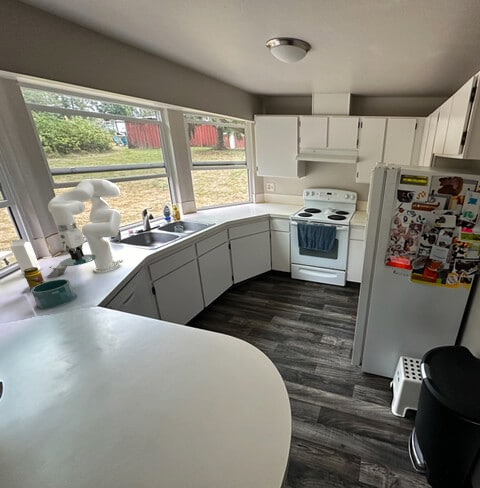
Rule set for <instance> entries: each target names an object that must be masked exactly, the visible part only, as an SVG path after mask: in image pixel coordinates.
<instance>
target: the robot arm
mask: <svg viewBox="0 0 480 488" xmlns="http://www.w3.org/2000/svg"><path fill="white" fill-rule="evenodd" d="M120 193H121V191H120V188H119V187H118V186H117V185H116V184H115V183H114V182H111V181H109V180H108V179H103V178H85V179H83V180H81V181H80V182H79V183H78V184H77V185H76V186H75V187H74V188H73V189H70V190H68V191H65V192H63V193H59V194H57V195H55V196H54V197H53V198H52V199H50V201H48V203H47V210H48V212H49V213H50V214H51V215H52V218H53V222H54V224H55V226H56V230H57V234H58V238H59V243H60V246H61V247H62V248H63V249H62V251H63V252H64V253H68V254H69V256H70V258H72V260H78V259H79V257H78V254H77V253H76V251H75V250H80V253H81V256H82V257H84V255H85V253H84V252H83V246H84V244H85V242H86V243H87V244H88V247H89V250H90V253H91V254H92V255H95V256H96V259H94V260H93V263H94V265H95V268H94V269H93V272H94V273H107V272H110V271H113V270H116V269H117V268H118V267H119V264H122V263H124V259H116V260H115V259H114V257H113V253H112V251H111V247H110V244H109V241H108V240H107V239H106V238H114V237H117V236H118V234H119V231H120V228H121V223H122V214H121V213H120V211H119V210H118V209H116V208H115V209H114V208H110V204H109V203H108V202H107V201H106V200H105V199H103V198H118V197H119V195H120ZM89 200H90V201H91V209H90V213H89V215H88V216H89V218H88V219H89V222H90V223H86V224H84V225H82V227H81V229H80V227H79V226H78V225H77V222H76V220H75V217H74V216H75V215H80V214H83V213H84V212H85V210H86V206H85V204H84V203H85V202H89Z"/></svg>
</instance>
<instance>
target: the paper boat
mask: <svg viewBox="0 0 480 488" xmlns="http://www.w3.org/2000/svg"><path fill="white" fill-rule="evenodd" d="M62 261H63V260H61V261H60V262H59V263H58V265H56V267H54V268H53V265H51V266H49V267H48V268H49V269H53V270H52V271H51V272H50V273H49V274H48V275H47V278H52V277H59V276H60V275H62V274H64V273H65V271H66V270H67V268H68V266H62V265H61V262H62Z"/></svg>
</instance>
